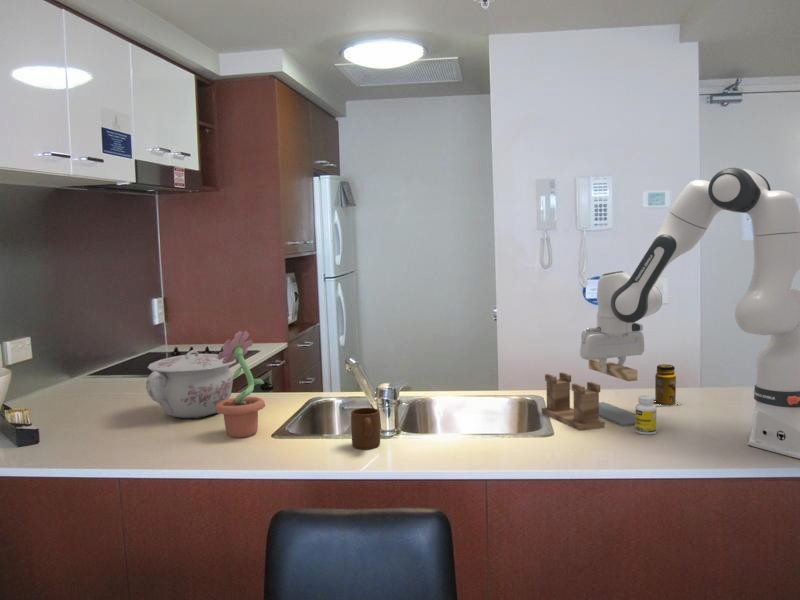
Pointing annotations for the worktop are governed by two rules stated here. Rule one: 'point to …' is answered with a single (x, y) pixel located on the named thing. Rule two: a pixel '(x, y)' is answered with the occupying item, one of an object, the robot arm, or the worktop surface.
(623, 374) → the rail
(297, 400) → the worktop surface
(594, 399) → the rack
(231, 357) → the decorative flower
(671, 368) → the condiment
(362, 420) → the mug
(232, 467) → the worktop surface
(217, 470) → the worktop surface
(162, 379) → the chamber pot
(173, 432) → the worktop surface
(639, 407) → the supplement bottle
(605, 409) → the mat
